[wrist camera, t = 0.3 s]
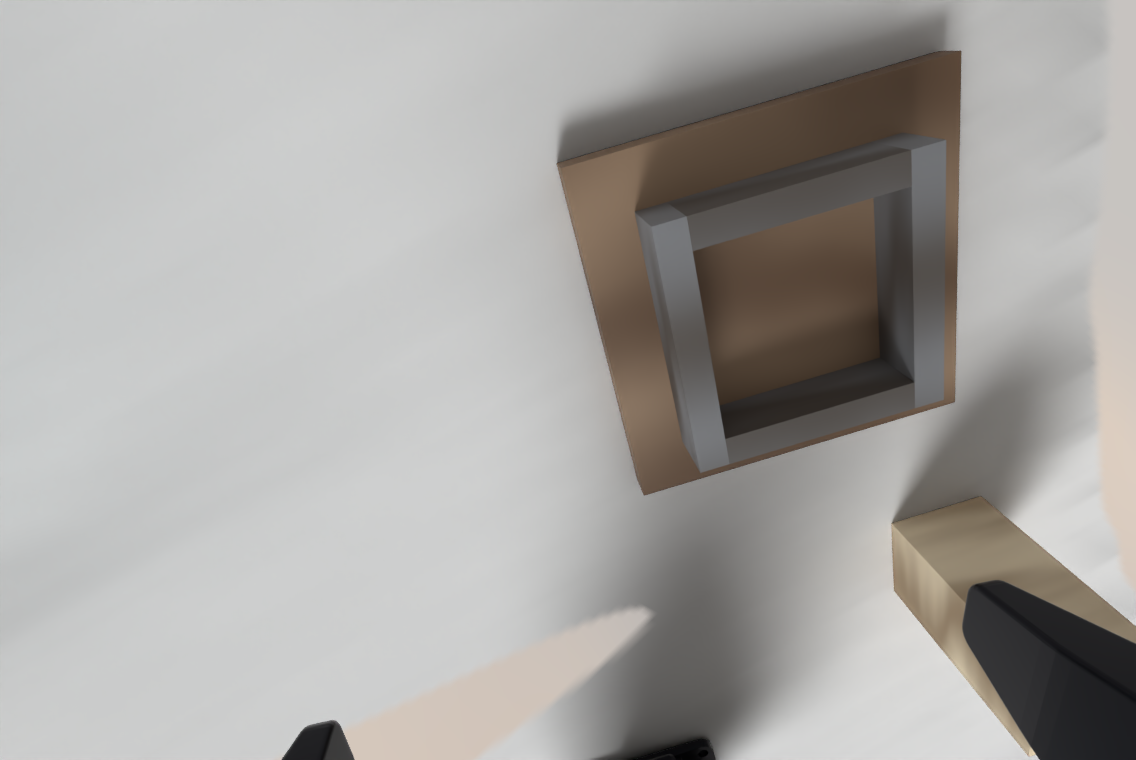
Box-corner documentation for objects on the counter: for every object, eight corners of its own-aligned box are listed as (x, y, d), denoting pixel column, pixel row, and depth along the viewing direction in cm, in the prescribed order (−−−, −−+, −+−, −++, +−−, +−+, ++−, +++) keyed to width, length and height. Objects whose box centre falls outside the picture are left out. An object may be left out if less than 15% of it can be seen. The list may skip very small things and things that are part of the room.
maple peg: (978, 564, 30) (1139, 722, 23) (893, 590, 30) (1028, 756, 23) (981, 496, 28) (1156, 644, 21) (891, 523, 28) (1037, 680, 21)
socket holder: (937, 390, 25) (993, 429, 23) (637, 480, 25) (658, 529, 23) (939, 51, 20) (1012, 49, 17) (556, 163, 20) (571, 179, 17)
